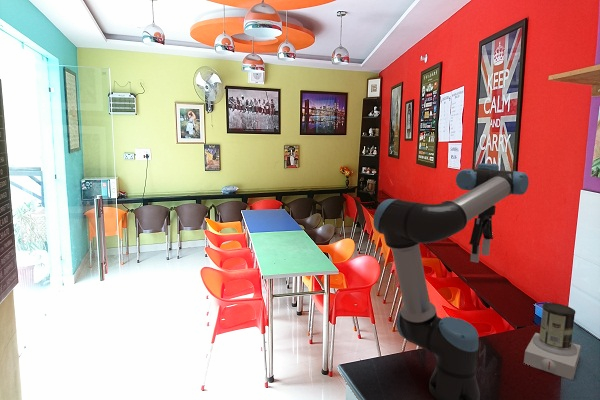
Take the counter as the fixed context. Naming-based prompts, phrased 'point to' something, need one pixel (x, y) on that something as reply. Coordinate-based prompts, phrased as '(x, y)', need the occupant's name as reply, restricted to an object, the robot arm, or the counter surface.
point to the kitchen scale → (552, 358)
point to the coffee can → (557, 326)
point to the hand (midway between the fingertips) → (479, 258)
